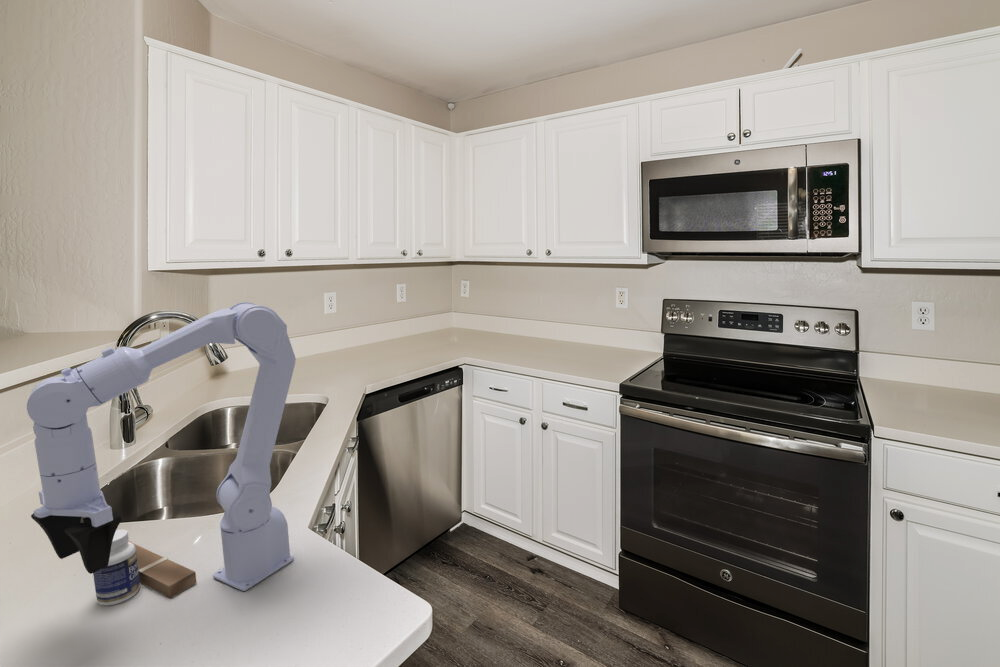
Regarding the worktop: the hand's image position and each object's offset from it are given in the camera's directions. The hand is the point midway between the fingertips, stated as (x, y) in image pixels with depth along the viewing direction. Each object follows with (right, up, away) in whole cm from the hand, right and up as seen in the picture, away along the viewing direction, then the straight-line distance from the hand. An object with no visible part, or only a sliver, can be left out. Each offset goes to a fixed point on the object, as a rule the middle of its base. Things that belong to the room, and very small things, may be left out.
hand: (83, 561), depth 69 cm
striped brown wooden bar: (-3, -8, +15) cm, 17 cm away
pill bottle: (-2, -9, +9) cm, 13 cm away
